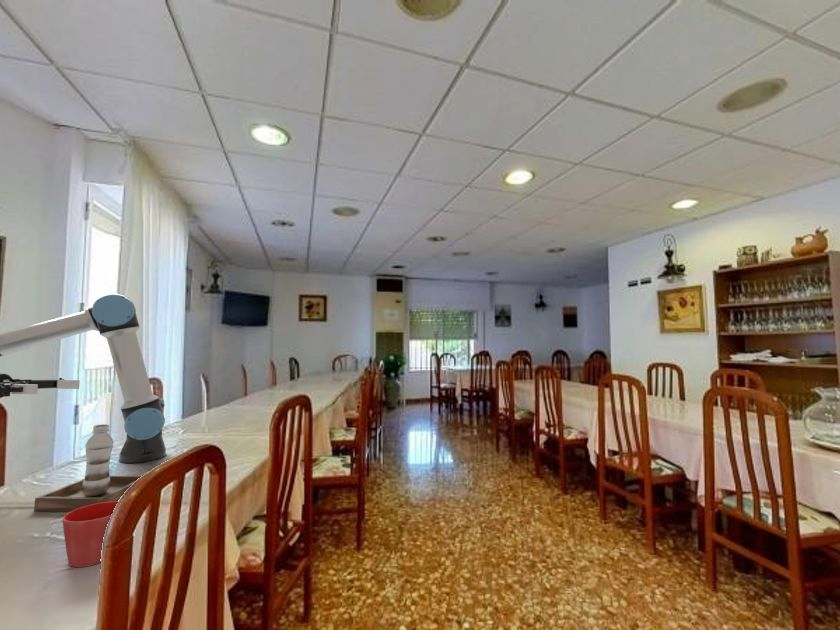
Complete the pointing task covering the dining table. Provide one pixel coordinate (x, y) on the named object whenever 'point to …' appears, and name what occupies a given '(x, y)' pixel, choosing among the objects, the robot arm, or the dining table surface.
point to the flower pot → (86, 533)
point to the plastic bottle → (98, 462)
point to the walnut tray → (81, 495)
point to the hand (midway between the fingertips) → (58, 386)
